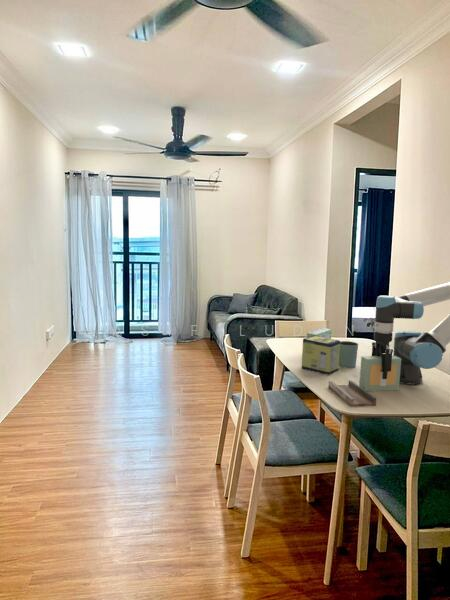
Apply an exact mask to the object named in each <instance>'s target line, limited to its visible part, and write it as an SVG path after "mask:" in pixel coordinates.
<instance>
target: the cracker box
mask: <svg viewBox="0 0 450 600" xmlns="http://www.w3.org/2000/svg"><path fill="white" fill-rule="evenodd" d="M360 358H361V359H360V370H359V371H360V372H359V384H358V386H360V387H361V388H363V389H364V390H365V391H367V392H369V391H368V390H377V391H399V390H400V383H399V381H400V369H401V358H399V357H397V356H393V355H392V363H391V371H389V372H387V382H386V386H380V373H381V371H380V370H382V363H381V361H382V359H381V356H372V355H366V356H365V355H363V356H361V357H360Z"/></svg>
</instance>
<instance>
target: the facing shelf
mask: <svg viewBox="0 0 450 600" xmlns="http://www.w3.org/2000/svg"><path fill="white" fill-rule="evenodd" d="M328 388H329V389H330V390H331V392H333V393H334V392H335V394H336V395H337V396H338V397H339V399H341V400H342V401H344V402H345V403H346V404H347V405H348V406H350V407H370V406H371V407H374V406H375V407H376V405H377V398H376V397H375V396H374V395H373V394H371V393H370V392H369V391H365V390H364V389H363V388H361V387H360V386H359V384H357V383H355V382H354V381H353V380H348V384H336V383H335V382H334V381H332V380H329V381H328Z"/></svg>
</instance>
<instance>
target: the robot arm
mask: <svg viewBox="0 0 450 600" xmlns="http://www.w3.org/2000/svg"><path fill="white" fill-rule="evenodd" d="M448 300H450V281H448V282H446V283H442V284H439V285H435V286H432V287H427V288H423V289H421V290H417V291H413V292H410V293H406V294H402V295H398V296H396V295H395V296H394V295H393V296H392V295H379V296H377V298H376V302H375V303H376V305H375V319H374V321H375V322H374V332H373V340H374V341H372V343H371V348H372V349H371V356H381V359H382V361H381V363H382V370H380V371H381V373H380V386H386V382H387V372H389V371H391V363H392V356H397V357H399V358H401V369H400V381H399V384H403V385H404V384H405V385H419V384H423V383H422V382H423V374H422V371H421V369H423V370H430V369H433V368H436V367H437V366H438V365H440V364H441V362H442V360H443V355H444V353H445V352H447V346H448V345H449V344H450V313H449V314H448V315H446V316H445V318H443V320H441V321H440V322H439V323H438V324H436V326H435V327H433V329H431V330H430V331H429V330H428V331H425V330H424V331H423V332H419V331H411V330H410V331H409V330H408V331H407V330H402V331H401V330H400V331H396V332H395V334H394V338H393V332H394V324H395V323H394V322H395V321H394V320H395V319H407V320H409V319H410V320H416V319H417V320H419V319H421V318H422V317H423V316H424V310H425V309H424V307H427V306H431V305H433V304H438V303H442V302H445V301H448ZM392 341H393V348H390V343H391V342H392Z"/></svg>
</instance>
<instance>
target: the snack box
mask: <svg viewBox="0 0 450 600" xmlns="http://www.w3.org/2000/svg"><path fill="white" fill-rule="evenodd" d="M332 332H333V331H332V329H331V328H326V327H322V328H319V329H317V330H316V329H315V330H313V331H309V332H307V333H306V338H308V337H311V336H316V337H322V338H328V339H332Z"/></svg>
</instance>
